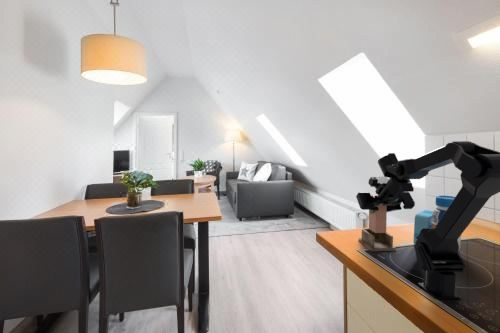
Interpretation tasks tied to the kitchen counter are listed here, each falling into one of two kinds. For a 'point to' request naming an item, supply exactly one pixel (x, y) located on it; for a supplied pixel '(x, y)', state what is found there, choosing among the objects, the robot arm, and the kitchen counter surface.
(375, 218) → the pink tall block
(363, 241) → the book rack
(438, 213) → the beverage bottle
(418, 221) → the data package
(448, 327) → the kitchen counter surface
